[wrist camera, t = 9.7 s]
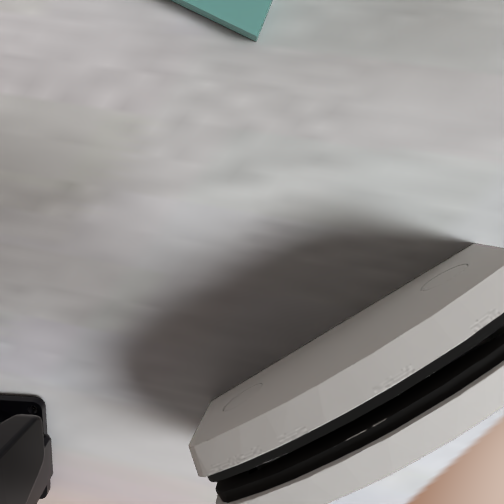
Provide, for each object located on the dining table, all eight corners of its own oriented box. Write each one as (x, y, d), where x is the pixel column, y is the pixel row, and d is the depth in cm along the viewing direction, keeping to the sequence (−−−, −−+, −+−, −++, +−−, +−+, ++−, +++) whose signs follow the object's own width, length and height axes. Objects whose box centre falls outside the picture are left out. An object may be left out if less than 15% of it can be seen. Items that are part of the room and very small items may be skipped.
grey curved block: (257, 464, 24) (213, 611, 14) (214, 393, 24) (144, 488, 15) (519, 316, 22) (685, 367, 12) (467, 241, 22) (586, 230, 12)
